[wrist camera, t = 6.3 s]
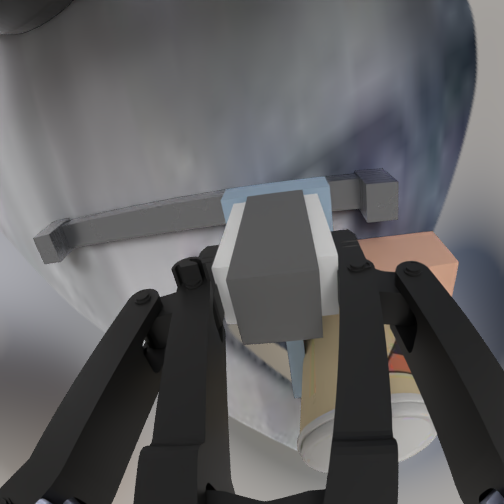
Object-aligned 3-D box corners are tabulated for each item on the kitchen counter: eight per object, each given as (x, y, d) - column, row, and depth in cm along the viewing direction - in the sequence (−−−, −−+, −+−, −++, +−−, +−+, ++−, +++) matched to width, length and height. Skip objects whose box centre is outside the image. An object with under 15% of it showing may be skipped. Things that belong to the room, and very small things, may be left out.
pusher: (229, 182, 20) (182, 283, 10) (321, 170, 19) (365, 264, 10) (268, 365, 29) (261, 475, 19) (332, 359, 28) (344, 469, 18)
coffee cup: (411, 333, 26) (449, 444, 16) (322, 372, 29) (331, 483, 19) (379, 259, 23) (434, 388, 12) (273, 311, 26) (267, 445, 15)
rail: (53, 221, 23) (33, 238, 20) (382, 168, 19) (398, 181, 17) (62, 246, 24) (44, 264, 22) (383, 201, 20) (397, 219, 18)
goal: (323, 243, 22) (332, 279, 18) (432, 231, 21) (458, 262, 17) (328, 383, 30) (332, 419, 26) (407, 370, 29) (418, 404, 25)
